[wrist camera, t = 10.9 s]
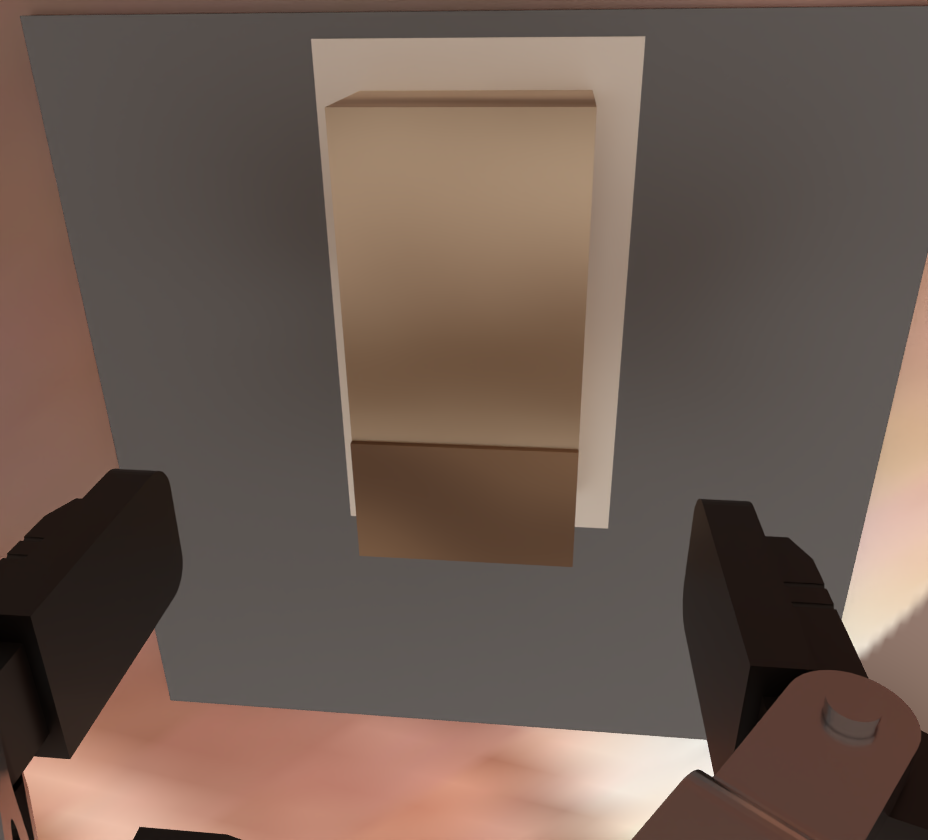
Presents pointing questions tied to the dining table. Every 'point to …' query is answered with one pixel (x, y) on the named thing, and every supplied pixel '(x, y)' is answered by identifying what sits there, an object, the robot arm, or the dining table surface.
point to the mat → (605, 344)
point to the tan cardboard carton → (464, 316)
